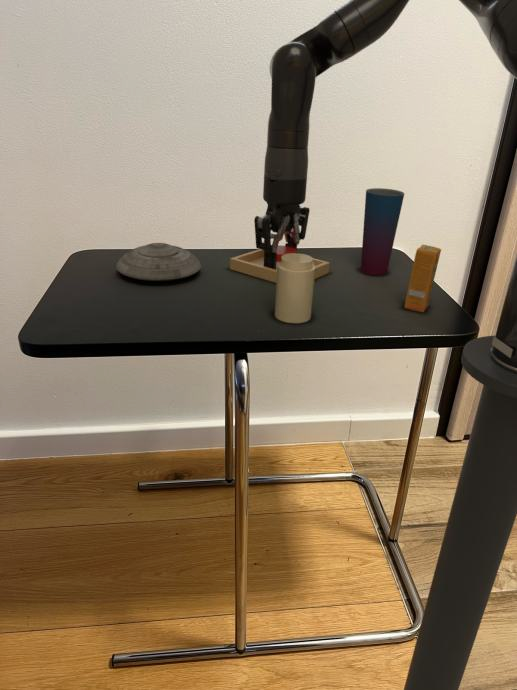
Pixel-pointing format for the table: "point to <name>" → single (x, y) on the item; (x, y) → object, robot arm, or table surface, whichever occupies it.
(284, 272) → the jar
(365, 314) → the table surface
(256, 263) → the tray
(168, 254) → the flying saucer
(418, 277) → the supplement box
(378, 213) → the cup
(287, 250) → the lid
